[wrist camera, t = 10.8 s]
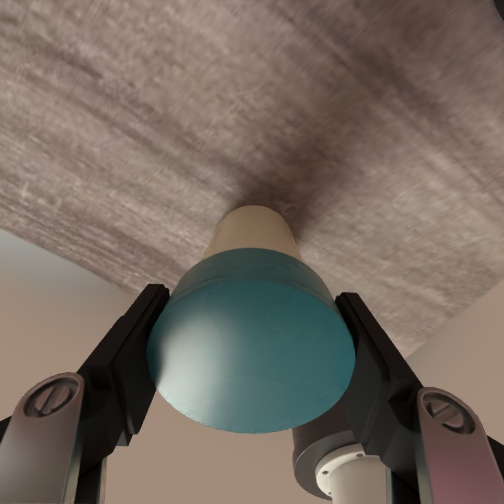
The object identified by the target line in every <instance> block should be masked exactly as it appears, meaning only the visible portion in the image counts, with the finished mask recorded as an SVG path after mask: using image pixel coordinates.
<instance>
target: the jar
mask: <svg viewBox="0 0 504 504" xmlns="http://www.w3.org/2000/svg"><path fill="white" fill-rule="evenodd" d="M237 248H264V249H270V250H275V251H278V252H282V253H285V254H288V255H290V256H292V257H294V258H297V259H298V260H300V261H301V262H303V263H305V262H304V260H303V257H302V255H301V253H300V250H299V248H298V246H297V243H296V241H295V238H294V236H293V234H292V231H291V229H290V227H289V225H288V223H287V222H286V221H285V219H284V218H283V217H282V216H281V215H280V214H278V213H277V212H275V211H274V210H272V209H270V208H267V207H264V206H258V205H248V206H243V207H239V208H237V209H234V210H233V211H231V212H229V213H228V214H227V215H226V216H225V217H224V218H223V219H222V220H221V221H220V222H219V224H218V226H217V228H216V230H215V232H214V234H213V236H212V238H211V240H210V242H209V244H208V247H207V249H206V251H205V253H204V255H203V257H202V259H201V261H202V260H204V259H206V258H208V257H210V256H212V255H214V254H217V253H220V252H223V251H227V250H232V249H237ZM201 261H200V262H201Z"/></svg>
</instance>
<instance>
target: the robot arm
mask: <svg viewBox="0 0 504 504" xmlns="http://www.w3.org/2000/svg"><path fill="white" fill-rule="evenodd" d="M169 298H170V293H169V289H168V288H165V286H164V285H163V284H148V285H147V286H146V287H145V289H144V290H143V291H142V293H141V294H140V295H139V296H138V298H137V299H136V300H135V302H134V303H133V304H132V306H131V307H130V308H129V309H128V311H127V312H126V313H125V315H124V316H121V317H120V318H119V319H118V320H117V321H116V323H115V324H114V325H113V327H112V328H111V329H110V330H109V332H108V333H107V334H106V336H105V337H104V338H103V339H102V341H101V342H100V343H99V344H98V346H97V347H96V348H95V349H94V351H93V352H92V353H91V355H90V356H89V357H88V358H87V360H86V361H85V362H84V363H83V365H82V366H81V367H80V369H79V370H78V371H77V372H76V373H71V372H67V373H61V374H57V375H54V376H51V377H49V378H47V379H45V380H43V381H41V382H39V383H38V384H37V385H35V386H34V387H33V388H31V389H30V390H29V391H28V392H27V393H26V394H25V395H24V396H23V397H22V398H21V399H20V401H19V403H18V405H17V406H16V408H15V411H14V413H13V415H12V416H10V417H8V418H6V419H4V420H2V421H0V504H104V499H105V483H106V469H107V456H108V455H110V454H111V453H112V452H113V451H114V449H115V447H116V446H128V445H129V443H130V441H131V438H132V436H133V434H138V432H139V431H140V429H141V426H142V424H143V421H144V419H145V416H146V414H147V411H148V409H149V406H150V404H151V402H152V399H153V397H154V394H155V392H156V387H155V385H154V384H153V382H152V380H151V377H150V372H149V367H148V361H147V354H146V348H147V343H148V338H149V335H150V333H151V330H152V328H153V326H154V325H155V323H156V321H157V319H158V317H159V316H160V314H161V312H162V310H163V309H164V307H165V305H166V303H167V302H168V300H169ZM335 303H336V305H337V307H338V309H339V311H340V313H341V315H342V317H343V319H344V321H345V323H346V325H347V327H348V329H349V331H350V334H351V336H352V338H353V342H354V346H355V354H356V362H355V366H354V370H353V373H352V377H351V380H350V383H349V386H348V388H347V390H346V391H345V392H344V394H343V395H342V397H341V400H342V403H343V406H344V409H345V412H346V415H347V418H348V420H349V423H350V426H351V429H352V432H353V435H354V438H355V440H356V442H358V443H356V444H351V445H346V446H343V447H340V448H338V449H335V450H334V451H332V452H330V453H328V454H327V455H326V456H324V457H323V458H322V459H321V460H320V461H319V463H318V465H317V467H316V470H315V474H316V481H317V484H318V487H319V488H320V489H321V490H322V491H323V492H324V493H325V494H326V495H328V496H330V497H332V501H333V504H504V445H502V444H501V443H499V442H497V441H496V440H494V439H492V438H491V437H489V436H487V435H486V433H485V431H484V428H483V426H482V424H481V422H480V420H479V418H478V416H477V415H476V414H475V413H474V411H473V410H472V409H471V408H470V407H469V406H468V405H466V404H465V403H464V402H463V401H462V400H461V399H459V398H458V397H456V396H454V395H453V394H451V393H449V392H447V391H445V390H442V389H439V388H435V387H423V385H422V384H421V382H420V381H419V380H418V378H417V377H416V375H415V374H414V372H413V371H412V370H411V368H410V367H409V365H408V364H407V362H406V361H405V360H404V358H403V357H402V355H401V354H400V352H399V351H398V350H397V348H396V347H395V345H394V344H393V342H392V341H391V340H390V338H389V337H388V335H387V334H386V333H385V331H384V330H383V329H382V328H381V326H380V325H379V324H378V322H377V321H376V319H375V318H374V316H373V315H372V314H371V312H370V311H369V309H368V308H367V306H366V305H365V303H364V302H363V301H362V299H361V298H360V296H359V295H358V294H357V293H349V292H342V293H341V294H340V296H336V299H335Z"/></svg>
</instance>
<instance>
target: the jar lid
mask: <svg viewBox="0 0 504 504" xmlns="http://www.w3.org/2000/svg"><path fill="white" fill-rule="evenodd" d="M146 354H147V361H148V367H149V372H150V377H151V380H152V382H153V384H154V385H155V387H156V389H157V390H158V391H159V393H160V394H161V396H162V397H163V398H164V399H165V400H166V401H167V402H168V403H169V404H170V405H171V406H173V407H174V408H175V409H176V410H177V411H179V412H180V413H182V414H183V415H185V416H186V417H188V418H190V419H192V420H194V421H196V422H198V423H201V424H203V425H206V426H209V427H213V428H216V429H219V430H224V431H229V432H236V433H250V434H252V433H253V434H254V433H255V434H256V433H270V432H277V431H282V430H287V429H290V428H293V427H297V426H299V425H302V424H304V423H307V422H309V421H311V420H313V419H315V418H317V417H318V416H320V415H321V414H323V413H324V412H326V411H327V410H328V409H330V408H331V407H332V406H333V405H334V404H335V403H336V402H337V401H338V400H339V399H340V398H341V397H342V395H343V394H344V392H345V391H346V390H347V388H348V386H349V383H350V380H351V377H352V373H353V370H354V366H355V362H356V354H355V346H354V342H353V338H352V336H351V334H350V331H349V329H348V327H347V325H346V323H345V321H344V319H343V317H342V315H341V313H340V311H339V309H338V307H337V305H336V303H335V302H334V300H333V298H332V296H331V294H330V292H329V290H328V288H327V286H326V285H325V283H324V282H323V280H322V279H321V278H320V277H319V276H318V274H317V273H316V272H315V271H314V270H312V269H311V268H310V267H309V266H308V265H306V264H305V263H303V262H301V261H300V260H298V259H297V258H294V257H292V256H290V255H288V254H285V253H282V252H278V251H275V250H270V249H264V248H237V249H232V250H227V251H223V252H220V253H217V254H214V255H212V256H210V257H208V258H206V259H204V260H202V261H201V262H199V263H198V264H196V265H195V266H193V267H192V268H191V269H190V270H189V271H188V272H187V273H186V274H185V275H184V276H183V277H182V278H181V280H180V281H179V283H178V284H177V286H176V288H175V289H174V291H173V293H172V295H171V296H170V298H169V300H168V302H167V303H166V305H165V307H164V309H163V310H162V312H161V314H160V316H159V317H158V319H157V321H156V323H155V325H154V326H153V328H152V330H151V333H150V335H149V338H148V343H147V348H146Z"/></svg>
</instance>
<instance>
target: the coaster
mask: <svg viewBox="0 0 504 504" xmlns="http://www.w3.org/2000/svg"><path fill="white" fill-rule="evenodd" d="M494 2H495V5H496V7H497V10H498V12H499V13H500V15H501V17H502V18H503V20H504V0H494Z"/></svg>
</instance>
